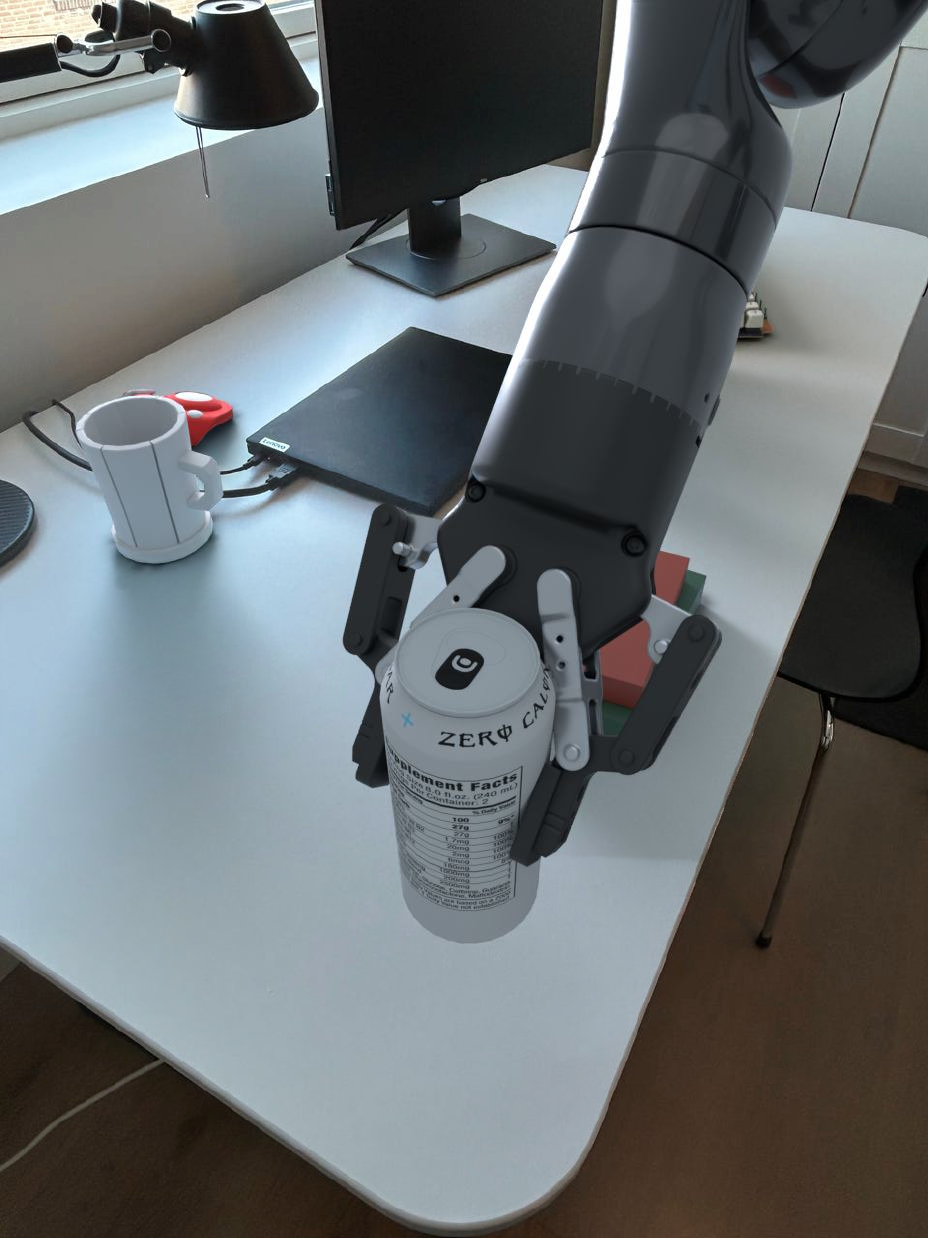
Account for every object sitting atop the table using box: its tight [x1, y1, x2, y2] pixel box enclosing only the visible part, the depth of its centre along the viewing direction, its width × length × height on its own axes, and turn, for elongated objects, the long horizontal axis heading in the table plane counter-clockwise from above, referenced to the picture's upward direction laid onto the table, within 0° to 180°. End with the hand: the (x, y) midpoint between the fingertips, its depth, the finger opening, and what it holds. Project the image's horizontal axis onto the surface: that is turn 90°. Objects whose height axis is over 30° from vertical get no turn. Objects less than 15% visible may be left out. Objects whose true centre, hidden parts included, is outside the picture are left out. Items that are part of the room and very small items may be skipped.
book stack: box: [583, 550, 708, 735], centre depth 69 cm, size 18×13×6 cm
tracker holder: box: [115, 389, 234, 447], centre depth 93 cm, size 12×4×10 cm
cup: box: [75, 395, 224, 564], centre depth 77 cm, size 10×9×12 cm
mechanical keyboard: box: [738, 290, 774, 338], centre depth 121 cm, size 38×19×3 cm, turn 1°
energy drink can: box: [380, 608, 556, 945], centre depth 34 cm, size 6×6×15 cm
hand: (446, 818), depth 33 cm, fingers closed on energy drink can, 6 cm apart
